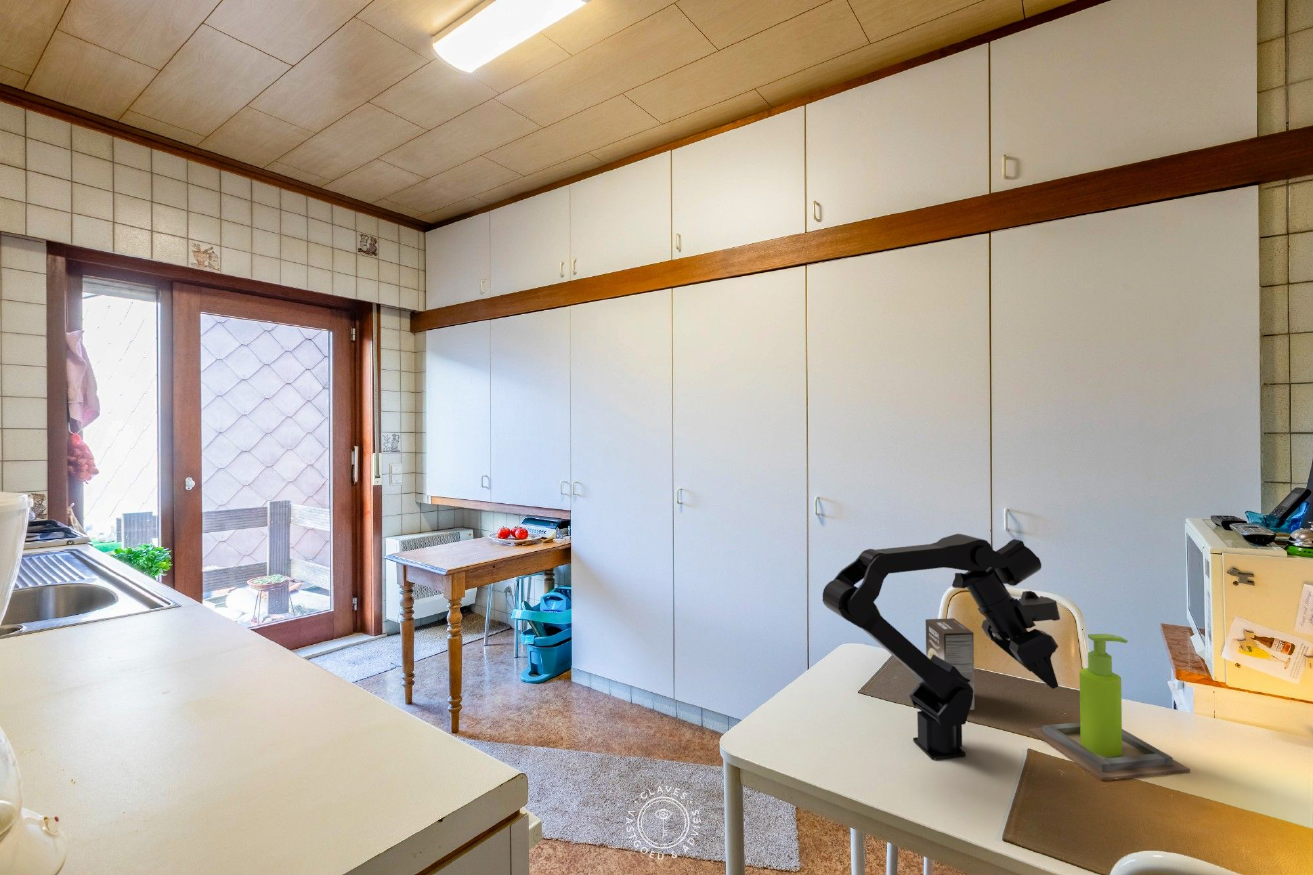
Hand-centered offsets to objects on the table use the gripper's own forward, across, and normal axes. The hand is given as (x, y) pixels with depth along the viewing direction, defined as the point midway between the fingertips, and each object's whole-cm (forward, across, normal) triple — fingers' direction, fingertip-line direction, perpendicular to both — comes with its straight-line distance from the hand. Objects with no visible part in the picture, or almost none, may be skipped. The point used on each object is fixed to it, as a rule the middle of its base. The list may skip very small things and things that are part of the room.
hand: (1043, 678), depth 106 cm
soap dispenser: (+16, +2, -3) cm, 16 cm away
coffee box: (+5, +19, +15) cm, 25 cm away
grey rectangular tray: (+16, +3, -3) cm, 16 cm away
